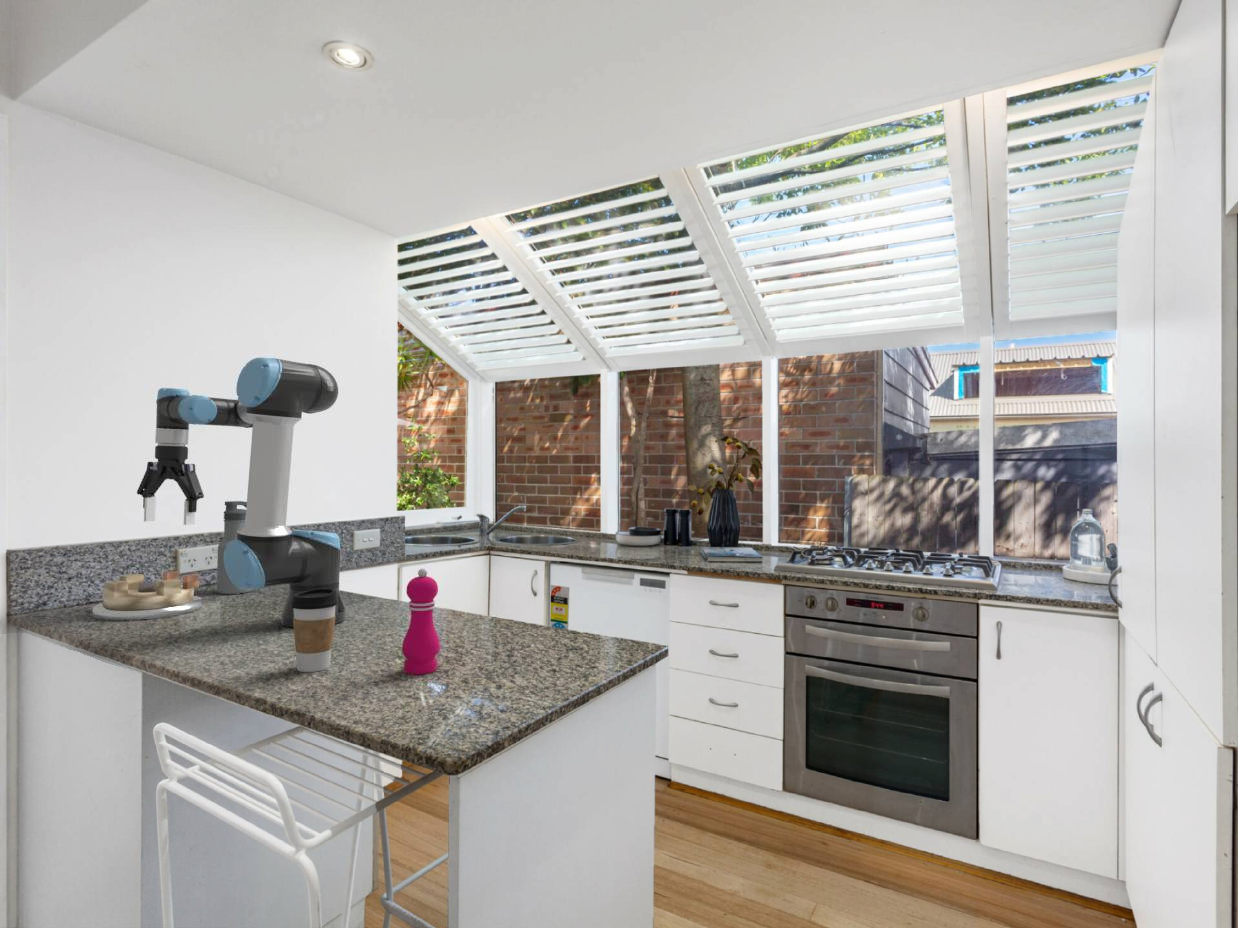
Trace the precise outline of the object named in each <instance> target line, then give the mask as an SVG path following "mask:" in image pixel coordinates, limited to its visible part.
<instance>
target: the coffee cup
mask: <svg viewBox="0 0 1238 928" xmlns="http://www.w3.org/2000/svg"><path fill="white" fill-rule="evenodd" d="M337 601H338V600H337V596H336V590H334V589H327V588H322V589H314V590H309V591H305V592H300V593H297V594H295V595H294V596H293V601H292V603H291V604H292V606H291V607H292V608H293V609H294V617H293V625H294V627H293V634H294V635H293V636H294V647H295V648H294V649H295V657H296V659H295V660H296V670H297V671H298V672H302V673H313V672H320V671H324V670H328V669H329V668H330V666H331V656H332V648H333V640H334V634H335V625H336V624H335V617H336V615H335V606H336V605H337V604H338V603H337Z"/></svg>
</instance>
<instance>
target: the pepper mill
mask: <svg viewBox="0 0 1238 928" xmlns="http://www.w3.org/2000/svg"><path fill="white" fill-rule="evenodd" d="M417 575H418V576H415V577H413V578H412V579H410V580H409V582H408V583H407V585H406V595H407V597H408V598H409V600H410V601H408V605H409V606H408V609H409V610H410V623H409V626H408V629H407V631H406V634H405V636H404V638H403V642H402V645H401V652H402V654H403V656H404V657H405V658H406V660H405V661H404V663H403V671H404V672H405V673H406V674H409V675H427V674H430V673H434V672H435V670H436V671H437V669H438V658H435V657H436V656H437V655H438V654H439V653H440V650H441V642H440V638H439V636H438V633H437V631H436V627H435V624H434V617H433V614H434V613H433V612H434V609H435V608H436V605H435V604H436V600H434V599H435V598H436V597H437V595H438V593H439V585H438V583H437V581H436V580H435V578H432V576H431V577H430V576H428V570H427V569H426V568H423V567H422V568H420V569H419V570H417Z"/></svg>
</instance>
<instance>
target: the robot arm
mask: <svg viewBox="0 0 1238 928" xmlns="http://www.w3.org/2000/svg"><path fill="white" fill-rule="evenodd" d="M235 388H236V390H235V391H236V396H237V399H232V398H231V399H230V398H218V397H208V396H204V395H197V394H191V392H190V391H189V390H188V389H183V388H173V387H162V388H159V389H158V391H157V395H156V397H157V398H156V400H155V401H156V420H155V421H156V423H155V424H156V425H155V427H156V429H155V441H154V443H156V444H157V445H156V446H154V458H155V460H157V461H148V462H147V464H146V470H145V472H144V475H143V477H142V479H141V481H140V484H139V486H138V489H137V490H136V494H137V495H140V496H141V497H143V502H142V503H143V505H142V507H143V510H144V511H143V522H156V521H155V520H156V502H157V500H156V499H157V497H156V495H155V494H156V493H157V492H158V490H160V487H162V485H163V484H164V482H165V481H167V480H173V481H175V482H176V483H177V484H178V487H179V488H180V490H181V491H182V493H183V494H184V496H185V498H186V499H185V500H184V502H183V503H184V504H183V505H184V506H183V508H184V509H183V510H184V511H183V526H187V525H188V526H189V525H195V521H196V520H195V519H196V512H197V508H198V507H197V504H198V503H197V502H198V500H201V499H203V498H204V496H205V495H204V492H203V489H202V487H201V484H200V481H199V478H198V474H197V472H196V464H195V463H186V462H185V461H186V460H188V459H189V457H188V456H189V448H188V446H186V445H188V444H189V433H190V432H189V430H190V425H194V426H195V425H199V426H200V425H201V426H202V425H203V426H221V427H222V426H223V427H224V426H225V427H237V428H246V429H249V428H250V429H251V430H252V431H251V441H250V442H251V445H250V458H249V470H248V483H247V496H246V502H247V507H245V510H246V520H245V524H244V525H243V526H242V527H241V528H239V529H238V530H237V540H233V541H231V542H229V543H228V544H227V547H226V548H225V550H224V566H225V570H226V573H227V575H228V577H229V579H230V580H231V582H232V583H233V584H234V585H235V586H237V587H238V588H240V589H255V590H260V589H265V588H270V587H276V586H284V585H289V587H288V588H289V590H288V595H287V597H286V600H285V603H284V606H283V608H282V611H281V614H280V624H281V625H282V626H283V627H289V628H294V625H293V617H294V609H293V608H292V607H291V606H292V604H291V603H292V601H293V596H294V595H295V594H297V593H300V592H305V591H309V590H314V589H322V588H327V589H334V590H336V596H337V600H338V601H337V603H338V604H337V605H336V606H335V615H336V617H335V625H337V624H341V623H343V622H345V621H346V620H347V611H346V610H347V609H346V606H345V603H344V600H343V597H342V595H341V591H340V563H341V561H340V559H341V556H340V555H341V553H340V552H341V551H342V550H341V541H340V540H341V539H340V536H339V535H338V534H337V533H335V532H329V531H320V530H319V531H318V530H306V529H290V527H289V526H288V525H287V516H288V515H287V512H288V503H289V502H288V501H289V490H290V489H289V487H290V477H291V464H292V453H293V452H292V449H293V439H294V428H295V427H294V426H295V424H297V423H299V421H301V420H302V414H303V413H304V414H316V413H321V412H323V411H327V410H329V409H330V408H332V406H333V405H334V404H335V403H336V401H337V400H338V396H339V387H338V382H337V381H336V379H335V377H334V376H333V374H332V373H331V372H329V370H327V369H325V368H324V367H322V366H319V365H316V364H311V363H304V362H303V363H302V362H297V361H291V360H285V359H282V358H281V359H280V358H276V357H273V358H271V357H255V358H252V359H251V360H249V361H248V362H247V363H246V364H245V366H243V368H242V369H241V370H240V373H239V375H238V379H237V382H236V387H235Z"/></svg>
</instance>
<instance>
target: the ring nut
mask: <svg viewBox="0 0 1238 928" xmlns="http://www.w3.org/2000/svg"><path fill="white" fill-rule="evenodd" d="M144 577H145V574H142V573H131V574H123V575H119V579H118V580H113V581H112V580H111V581H106V582H104V586H103V587H104V589H103V594H102V603H103V607H104V608H107V609H114V610H140V609H153V608H162V607H169V606H175V605H180V604H184V603H188V602H190V601H192V600H193V599H194V596H195V595H194V593H195V592H194V589H195V588H196V589H197V588H200V574H197V573H192V574H185V575H184V574H183V575H182V579H180V571H176V570H175V571H168V572H163V573H162V580H156V581H146V582H145V580H144V579H145V578H144Z"/></svg>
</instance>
